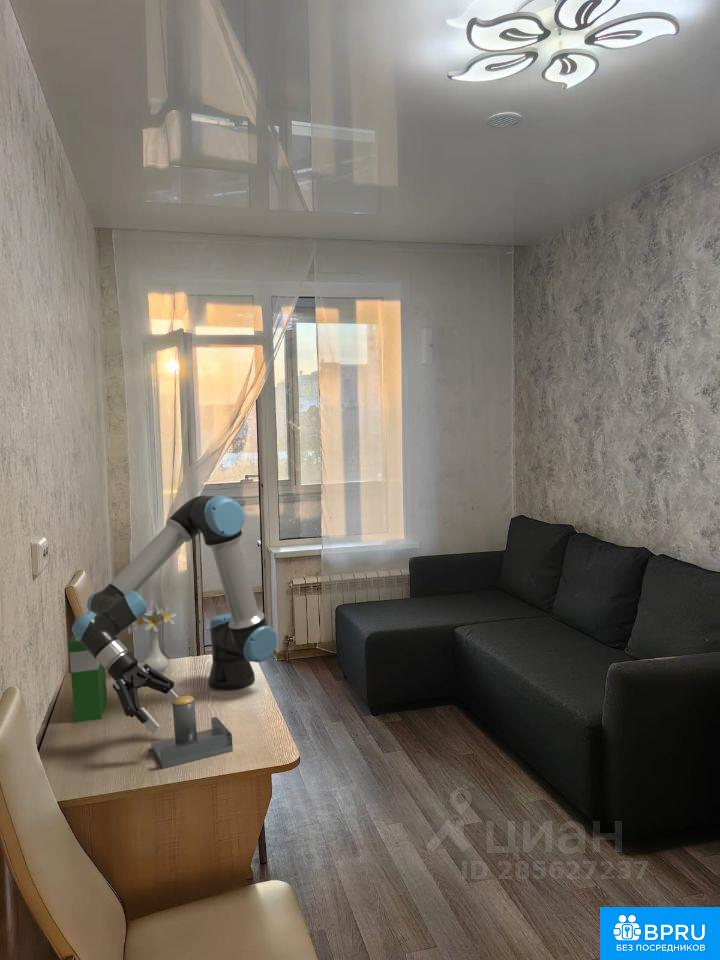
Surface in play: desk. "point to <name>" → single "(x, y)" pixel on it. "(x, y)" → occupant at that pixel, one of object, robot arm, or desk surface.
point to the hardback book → (86, 683)
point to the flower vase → (154, 635)
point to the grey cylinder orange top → (184, 719)
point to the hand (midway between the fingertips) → (170, 719)
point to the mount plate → (194, 746)
